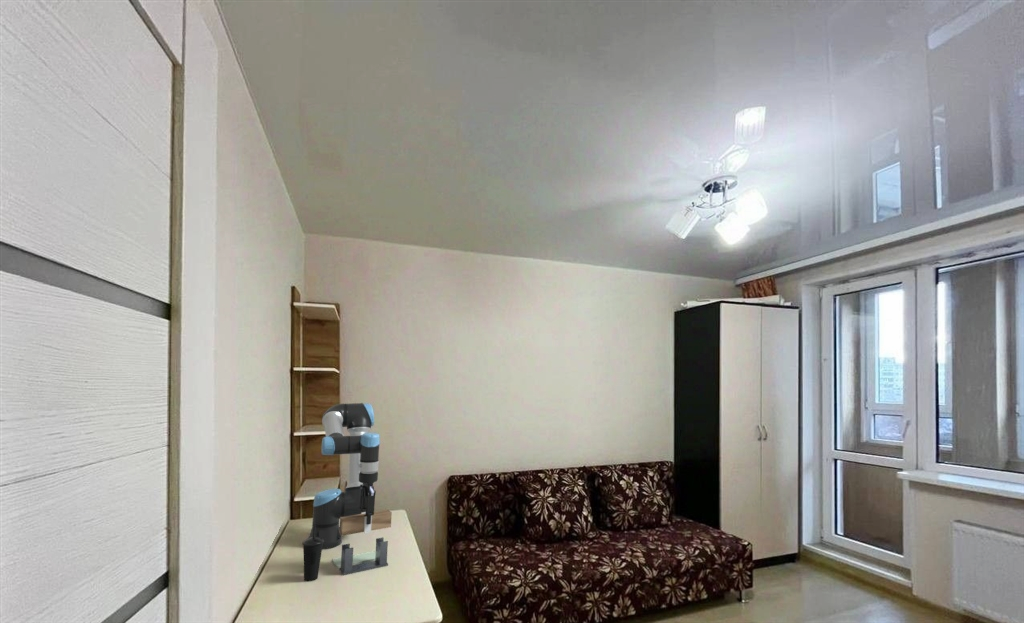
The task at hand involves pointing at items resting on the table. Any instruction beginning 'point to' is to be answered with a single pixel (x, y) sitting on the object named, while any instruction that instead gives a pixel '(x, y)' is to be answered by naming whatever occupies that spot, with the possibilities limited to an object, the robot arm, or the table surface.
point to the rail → (357, 522)
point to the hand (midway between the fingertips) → (365, 530)
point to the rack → (379, 561)
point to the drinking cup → (312, 556)
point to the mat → (357, 558)
